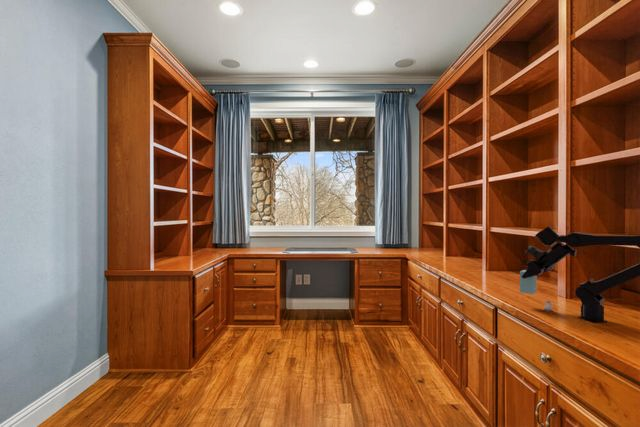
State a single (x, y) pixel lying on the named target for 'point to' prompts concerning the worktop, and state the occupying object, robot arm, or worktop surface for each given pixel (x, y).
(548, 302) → the post
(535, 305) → the worktop surface
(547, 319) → the worktop surface
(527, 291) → the pale teal block
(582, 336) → the worktop surface
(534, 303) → the worktop surface
